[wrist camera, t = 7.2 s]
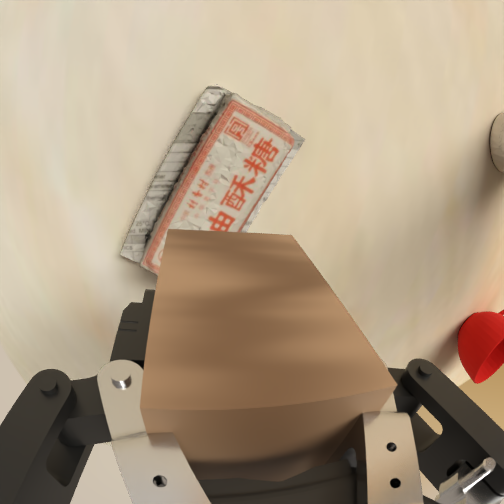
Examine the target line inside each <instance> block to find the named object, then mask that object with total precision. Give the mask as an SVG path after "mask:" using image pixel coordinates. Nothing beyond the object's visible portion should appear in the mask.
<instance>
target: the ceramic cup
mask: <svg viewBox="0 0 504 504" xmlns="http://www.w3.org/2000/svg"><path fill="white" fill-rule="evenodd" d="M503 315H504V310H502V311H501V312H499V313H495V312H480V313H478V312H477V313H474V314H472V315H471V316H470V317H469V318H468V319H467V320H466V321H465V322H464V324H463V325H462V327H461V328H460V330H459V333H458V352H459V357H460V360H461V363H462V365H463V367H464V368H465V370H466V372H467V373H468V375H469V376H470V378H471V379H472V380H473V382H474V383H477V384H478V383H481V382H483V381H485V380H486V379H488V378H489V377H490V376H491V375H493V374H494V373H495V372H496V371H497V370H498V369H499V368H500V366H502V364H503V363H504V316H503Z"/></svg>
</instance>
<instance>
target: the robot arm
mask: <svg viewBox="0 0 504 504" xmlns="http://www.w3.org/2000/svg"><path fill="white" fill-rule="evenodd" d="M490 147H491V155H492V159H493V162H494V164H495V166H496V168H497V169H498V170H499V171H501V172H504V113H501V114H499V115H498V116H497V117H496V119H495V121H494V123H493V126H492V131H491V138H490ZM154 296H155V290H147V289H146V290H145V293H144V298H143V302H142V303H134V302H131V303H130V304H129V305H128V306H127V307H126V308H125V309H124V310H123V313H122V317H121V320H120V324H119V327H118V331H117V335H116V339H115V343H114V346H113V350H112V354H111V359H110V362H109V363H107V364H105V365H104V366H103V367H102V368H101V369H100V371H99V373H98V375H96V376H94V377H91V378H87V379H80V380H73V381H70V379H69V377H68V376H67V375H66V374H65V373H63V372H62V371H59V370H56V369H47V370H43V371H40V372H39V373H37V374H36V375H34V376H33V378H32V379H31V380H30V382H29V383H28V384H27V386H26V387H25V389H24V390H23V392H22V393H21V395H20V396H19V397H18V399H17V400H16V402H15V403H14V405H13V406H12V408H11V410H10V411H9V413H8V414H7V416H6V417H5V419H4V421H3V422H2V424H1V425H0V504H70V502H71V499H72V497H73V494H74V492H75V489H76V487H77V484H78V482H79V479H80V477H81V474H82V472H83V469H84V467H85V465H86V462H87V460H88V458H89V455H90V453H91V451H92V448H93V446H94V444H97V443H104V442H110V441H111V444H112V448H113V451H114V454H115V457H116V460H117V463H118V466H119V469H120V472H121V475H122V477H123V480H124V483H125V485H126V488H127V490H128V493H129V495H130V497H131V500H132V503H133V504H500V502H501V501H502V500H503V498H504V431H503V430H502V429H501V428H500V427H499V426H498V425H497V424H496V423H495V422H494V421H493V420H492V419H491V418H490V417H489V416H488V415H487V414H486V413H485V412H484V411H483V410H482V409H481V408H480V407H479V406H478V405H476V404H475V403H474V402H473V401H472V400H471V399H470V398H469V397H468V396H467V395H466V394H465V393H464V392H463V391H462V390H460V389H459V388H458V387H457V386H456V385H455V384H454V383H453V382H452V381H451V380H450V379H449V378H448V377H447V376H446V375H444V374H443V373H442V372H441V371H440V370H439V369H438V368H437V367H436V366H435V365H433V364H432V363H431V362H429V361H427V360H424V359H414V360H412V361H410V362H409V364H408V365H407V367H406V369H396V368H387V365H386V364H385V363H384V361H383V360H382V359H381V361H382V362H383V364H384V365H385V367H386V368H387V370H388V371H389V373H390V374H391V376H392V377H393V379H394V380H395V382H396V383H397V386H396V388H395V390H394V391H393V393H392V394H391V396H390V397H389V399H388V400H387V402H386V403H385V405H384V406H383V407H382V409H381V410H380V411H372V412H364V413H362V414H361V416H360V417H359V418H358V420H357V421H356V423H355V424H354V426H353V427H352V429H351V430H350V431H349V433H348V434H347V436H346V437H345V438H344V440H343V441H342V442H341V444H340V445H339V446H338V448H337V449H336V450H335V452H334V453H333V454H332V455H331V457H330V458H329V459H328V461H327V462H326V463H325V464H324V465H320V466H316V467H313V468H311V469H309V470H307V471H305V472H302V473H300V474H298V475H296V476H293V477H291V478H288V479H286V480H283V481H279V482H276V481H263V480H253V479H244V478H228V479H203V480H199V482H198V480H197V479H196V477H195V475H194V473H193V471H192V470H191V468H190V466H189V464H188V462H187V460H186V458H185V456H184V454H183V452H182V450H181V448H180V446H179V444H178V442H177V440H176V438H175V436H174V434H173V432H163V433H146V429H145V426H144V422H143V418H142V415H141V411H140V399H141V389H142V379H143V371H144V362H145V354H146V347H147V340H148V333H149V326H150V320H151V313H152V307H153V301H154ZM422 405H423V406H424V407H425V408H426V409H427V410H428V411H429V412H430V413H431V414H432V415H433V416H434V417H435V418H436V419H437V420H438V421H439V422H440V423H441V425H442V428H443V431H442V434H441V435H439V434H437V433H435V432H434V431H433V430H432V429H431V428H430V427H429V425H427V423H426V422H425V421H424V420H423V419H422V418H421V417H420V416H419V415H418V414H417V413H416V412H417V411H418V410H419V408H420V407H421V406H422ZM419 470H420V471H421V472H422V473H423V474H424V475H425V477H426V478H427V479H428V480H429V481H430V482H431V483H432V484H433V486H434V487H435V488H436V489H437V490H438V491H439V494H438V495H437V496H436V498H435V501H434V500H432V499H430V498H428V497H425V496H424V495H422V486H421V479H420V472H419Z"/></svg>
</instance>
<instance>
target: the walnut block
mask: <svg viewBox="0 0 504 504" xmlns="http://www.w3.org/2000/svg"><path fill="white" fill-rule="evenodd" d="M396 386H397V383H396V382H395V380H394V379H393V377H392V376H391V374H390V373H389V371H388V370H387V368H386V367H385V365H384V364H383V362H382V361H381V359H380V358H379V356H378V355H377V353H376V352H375V350H374V349H373V347H372V346H371V344H370V343H369V342H368V340H367V339H366V337H365V336H364V334H363V333H362V331H361V330H360V328H359V327H358V326H357V324H356V323H355V321H354V320H353V318H352V317H351V316H350V314H349V313H348V311H347V310H346V308H345V307H344V306H343V304H342V303H341V301H340V300H339V299H338V297H337V296H336V294H335V293H334V292H333V290H332V289H331V287H330V286H329V285H328V283H327V282H326V281H325V279H324V278H323V276H322V275H321V274H320V272H319V271H318V270H317V268H316V267H315V266H314V264H313V263H312V261H311V260H310V259H309V257H308V256H307V255H306V253H305V252H304V251H303V249H302V248H301V247H300V245H299V244H298V243H297V241H296V240H295V239H294V237H293V236H292V235H279V234H262V233H244V232H225V231H205V230H184V229H168V231H167V235H166V240H165V245H164V249H163V254H162V259H161V264H160V269H159V274H158V279H157V285H156V290H155V296H154V301H153V307H152V313H151V320H150V326H149V333H148V340H147V347H146V354H145V362H144V371H143V379H142V389H141V399H140V411H141V415H142V418H143V422H144V426H145V429H146V433H163V432H173V434H174V436H175V438H176V440H177V442H178V444H179V446H180V448H181V450H182V452H183V454H184V456H185V458H186V460H187V462H188V464H189V466H190V468H191V470H192V471H193V473H194V475H195V477H196V479H197V480H198V482H199V480H203V479H228V478H244V479H253V480H263V481H276V482H279V481H283V480H286V479H288V478H291V477H293V476H296V475H298V474H300V473H302V472H305V471H307V470H309V469H311V468H313V467H316V466H320V465H324V464H325V463H326V462H327V461H328V459H329V458H330V457H331V455H332V454H333V453H334V452H335V450H336V449H337V448H338V446H339V445H340V444H341V442H342V441H343V440H344V438H345V437H346V436H347V434H348V433H349V431H350V430H351V429H352V427H353V426H354V424H355V423H356V421H357V420H358V418H359V417H360V416H361V414H362V413H364V412H372V411H380V410H381V409H382V407H383V406H384V405H385V403H386V402H387V400H388V399H389V397H390V396H391V394H392V393H393V391H394V390H395V388H396Z"/></svg>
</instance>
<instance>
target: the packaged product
mask: <svg viewBox="0 0 504 504" xmlns="http://www.w3.org/2000/svg"><path fill="white" fill-rule="evenodd" d="M304 140H305V139H304V138H303V137H301V136H300V135H298V134H297V133H296V132H294V131H293V130H291V127H290V126H289V125H288V124H286V123H284V122H283V121H282V120H281V118H279V117H277V116H275V115H274V114H272V113H270V112H269V111H267V110H265V109H264V108H262V107H258V106H255V105H253V104H252V103H250V102H248V101H247V100H245V99H243V98H242V97H240V96H239V95H238V94H236V93H232V92H230V91H228V90H226V89H225V88H223V87H221V86H219V85H217V84H216V85H211V86H208V87H207V88H206V89H205V91H204V92H203V94H202V95H201V97H200V99H199V100H198V102H197V104H196V105H195V107H194V109H193V111H192V112H191V114H190V116H189V117H188V119H187V121H186V122H185V124H184V126H183V127H182V129H181V130H180V132H179V134H178V136H177V137H176V139H175V141H174V142H173V144H172V146H171V148H170V150H169V152H168V154H167V156H166V158H165V160H164V161H163V163H162V165H161V167H160V169H159V170H158V172H157V174H156V176H155V178H154V180H153V181H152V183H151V186H150V188H149V190H148V192H147V195H146V197H145V199H144V201H143V203H142V205H141V207H140V209H139V211H138V213H137V215H136V217H135V219H134V221H133V224H132V226H131V228H130V230H129V232H128V235H127V237H126V240H125V242H124V245H123V247H122V250H121V253H120V255H121V256H124V257H126V258H128V259H130V260H132V261H134V262H137V263H139V264H140V267H143V268H145V269H146V270H148V271H150V272H152V273H154V274H155V275H157V276H158V274H159V269H160V264H161V259H162V254H163V249H164V245H165V240H166V235H167V231H168V229H184V230H205V231H225V232H244V233H246V231H247V230H248V228H249V227H250V225H251V224H252V222H253V221H254V219H255V217H256V216H257V214H258V213H259V210H260V208H261V206H262V203H263V202H265V201H266V200H267V198H268V196H269V195H270V193H271V192H272V190H273V189H274V187H275V186H276V184H277V182H278V181H279V179H280V177H281V175H282V174H283V173H284V171H285V170H286V168H287V167H288V165H289V164H290V162H291V161H292V159H293V158H294V156H295V154H296V153H297V151H298V150H299V149H300V147H301V145H302V144H303V142H304Z"/></svg>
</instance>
